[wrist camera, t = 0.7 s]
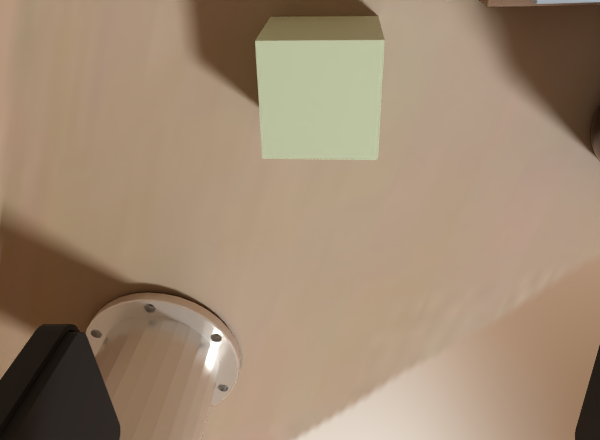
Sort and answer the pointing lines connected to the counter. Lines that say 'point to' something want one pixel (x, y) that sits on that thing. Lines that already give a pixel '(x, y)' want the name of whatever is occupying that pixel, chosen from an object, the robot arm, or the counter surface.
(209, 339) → the robot arm
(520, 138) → the counter surface
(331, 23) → the sage block
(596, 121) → the supplement bottle
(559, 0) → the slate top block
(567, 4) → the walnut base block
